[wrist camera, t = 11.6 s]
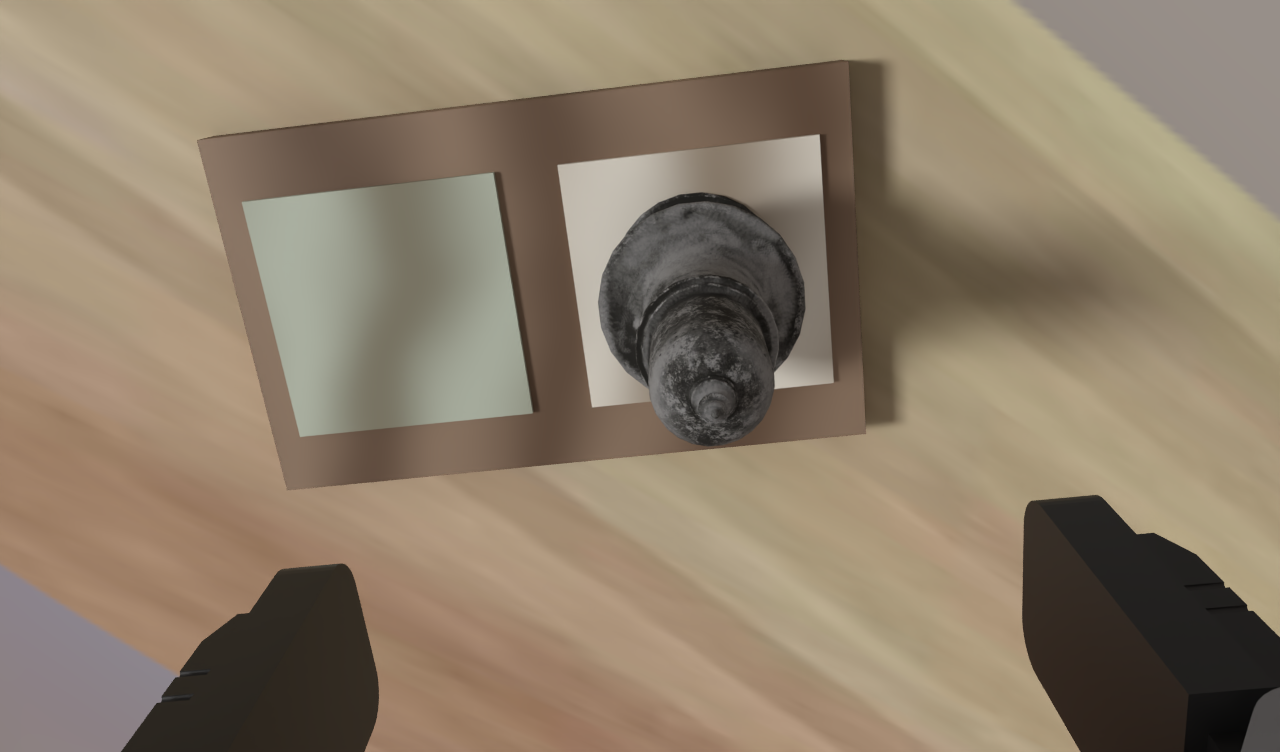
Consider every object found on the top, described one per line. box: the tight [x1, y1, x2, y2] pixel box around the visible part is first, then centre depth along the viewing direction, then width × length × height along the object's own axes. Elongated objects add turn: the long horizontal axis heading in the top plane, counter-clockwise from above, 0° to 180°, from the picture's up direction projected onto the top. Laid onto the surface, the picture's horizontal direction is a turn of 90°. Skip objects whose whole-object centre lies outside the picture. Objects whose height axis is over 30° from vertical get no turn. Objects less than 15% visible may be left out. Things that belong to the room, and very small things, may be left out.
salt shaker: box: [598, 192, 806, 447], centre depth 26 cm, size 6×6×12 cm
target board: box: [197, 60, 866, 490], centre depth 33 cm, size 20×12×1 cm, turn 97°
